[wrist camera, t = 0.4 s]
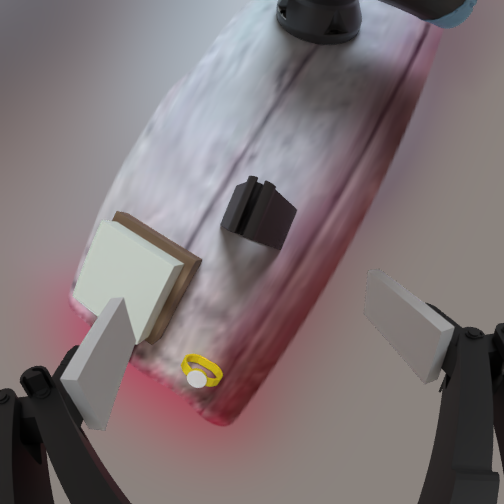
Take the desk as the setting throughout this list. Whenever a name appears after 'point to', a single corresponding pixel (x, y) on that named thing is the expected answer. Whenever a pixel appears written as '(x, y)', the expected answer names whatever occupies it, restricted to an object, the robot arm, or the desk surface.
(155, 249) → the upper block
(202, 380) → the watch
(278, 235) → the phone stand
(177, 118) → the desk surface
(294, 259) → the desk surface
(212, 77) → the desk surface
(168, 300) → the lower block
